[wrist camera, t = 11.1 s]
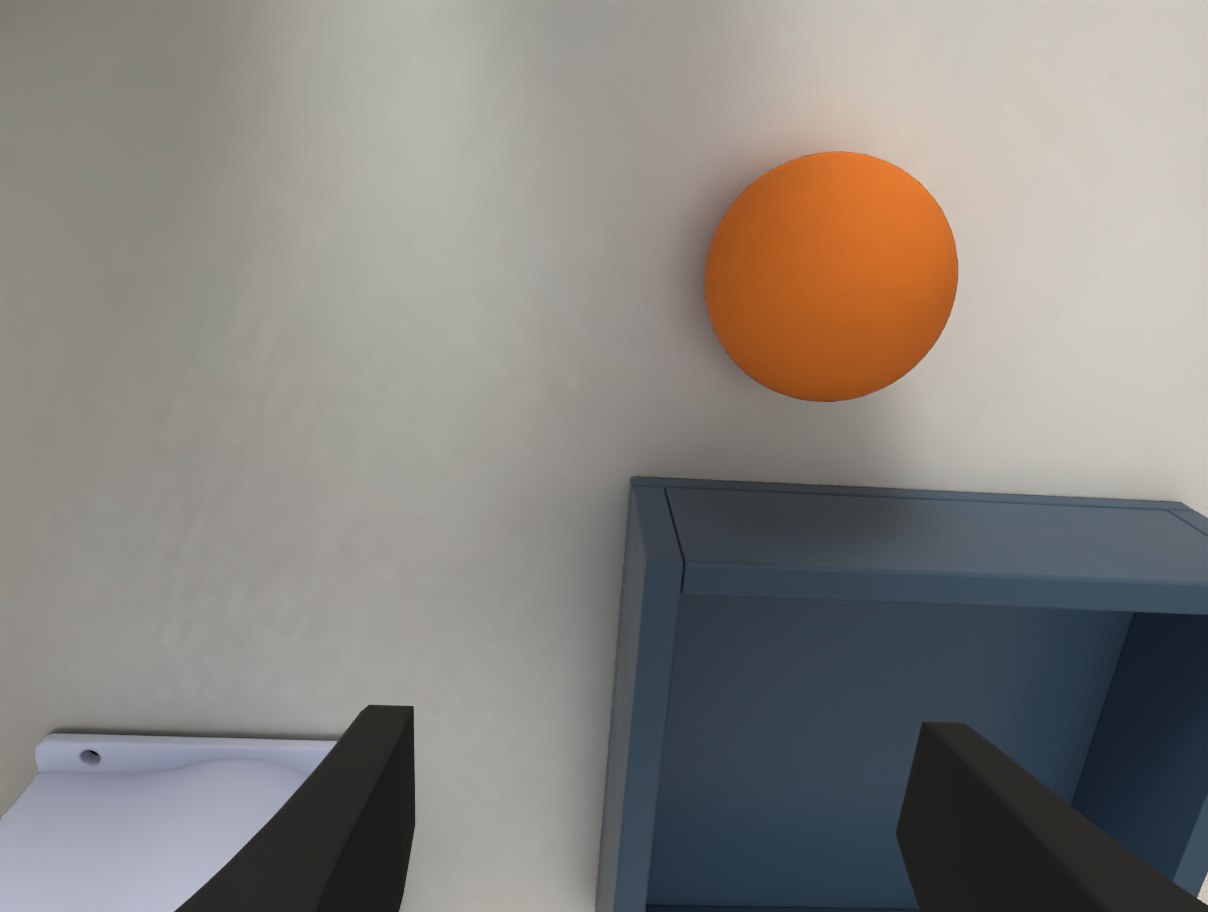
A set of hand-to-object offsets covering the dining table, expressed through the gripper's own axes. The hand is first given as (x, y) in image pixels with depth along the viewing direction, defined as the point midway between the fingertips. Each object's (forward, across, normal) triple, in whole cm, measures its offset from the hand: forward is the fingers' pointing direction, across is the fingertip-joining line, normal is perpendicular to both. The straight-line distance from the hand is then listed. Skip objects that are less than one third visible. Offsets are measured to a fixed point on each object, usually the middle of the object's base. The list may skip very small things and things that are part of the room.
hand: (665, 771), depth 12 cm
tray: (+10, -8, +7) cm, 15 cm away
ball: (+8, -4, -6) cm, 10 cm away
